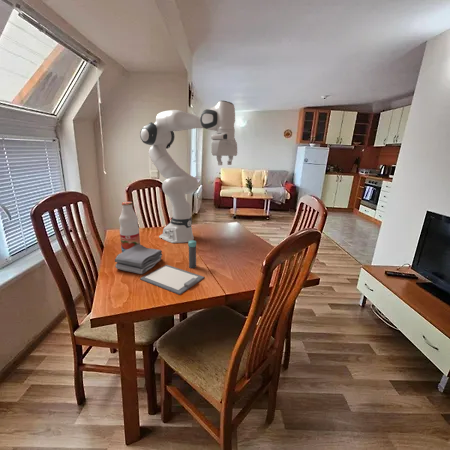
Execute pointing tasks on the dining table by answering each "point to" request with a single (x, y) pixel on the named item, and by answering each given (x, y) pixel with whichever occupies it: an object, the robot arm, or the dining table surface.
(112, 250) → the dining table surface
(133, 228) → the fruit juice
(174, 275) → the clipboard
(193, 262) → the marker
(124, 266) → the towel
